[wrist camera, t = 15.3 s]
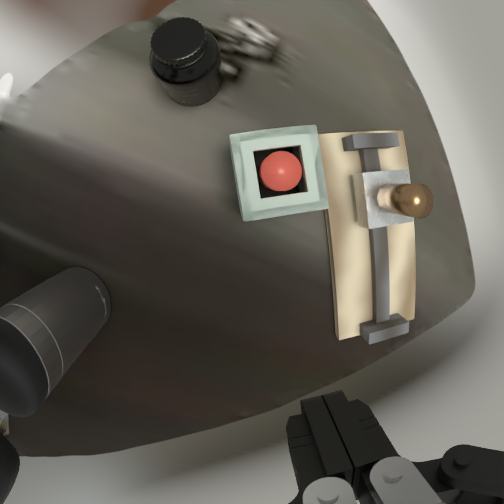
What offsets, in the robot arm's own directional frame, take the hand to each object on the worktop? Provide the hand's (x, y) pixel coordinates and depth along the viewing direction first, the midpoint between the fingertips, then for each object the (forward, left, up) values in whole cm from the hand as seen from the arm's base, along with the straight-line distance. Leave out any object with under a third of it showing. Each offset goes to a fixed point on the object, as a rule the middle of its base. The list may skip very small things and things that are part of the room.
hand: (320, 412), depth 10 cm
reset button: (+3, +9, -22) cm, 24 cm away
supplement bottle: (-4, +22, -27) cm, 35 cm away
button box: (+3, +9, -27) cm, 29 cm away
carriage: (+15, +5, -25) cm, 30 cm away
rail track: (+15, 0, -27) cm, 31 cm away
